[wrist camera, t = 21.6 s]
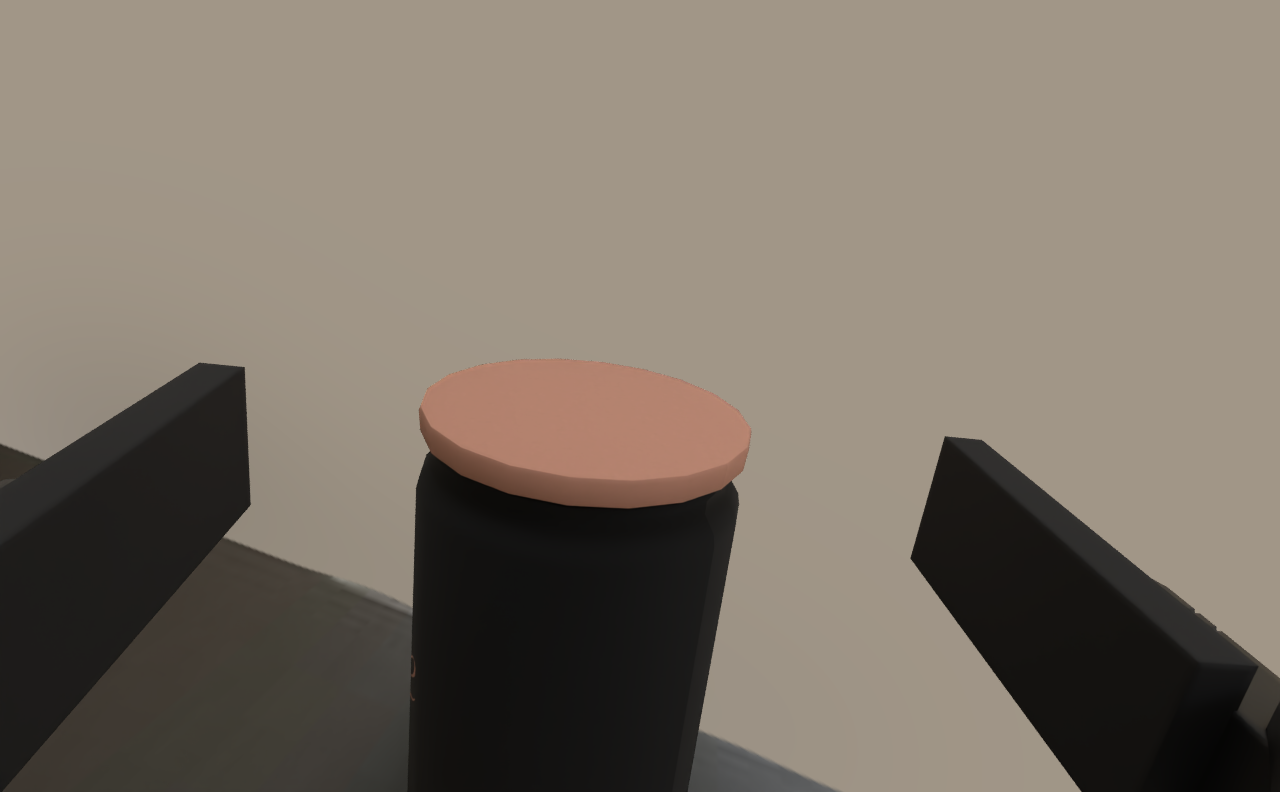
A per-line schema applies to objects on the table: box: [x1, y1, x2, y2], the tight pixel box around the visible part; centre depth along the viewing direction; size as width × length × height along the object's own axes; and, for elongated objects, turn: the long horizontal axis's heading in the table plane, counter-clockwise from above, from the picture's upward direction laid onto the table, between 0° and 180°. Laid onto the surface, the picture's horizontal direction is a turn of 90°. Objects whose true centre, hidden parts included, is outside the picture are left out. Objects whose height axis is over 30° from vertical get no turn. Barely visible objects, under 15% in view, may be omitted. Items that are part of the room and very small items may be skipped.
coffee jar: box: [408, 359, 751, 792], centre depth 28 cm, size 11×11×18 cm
